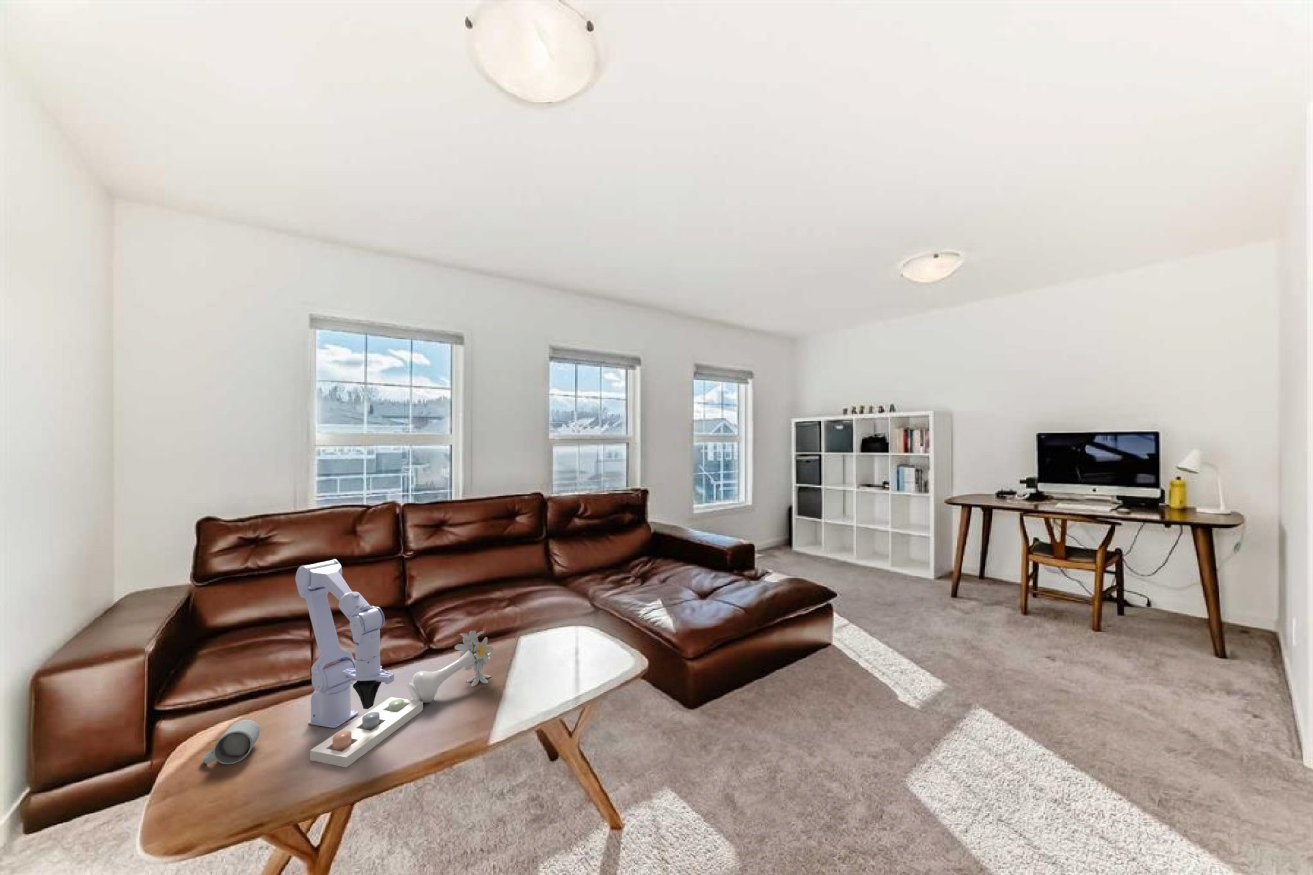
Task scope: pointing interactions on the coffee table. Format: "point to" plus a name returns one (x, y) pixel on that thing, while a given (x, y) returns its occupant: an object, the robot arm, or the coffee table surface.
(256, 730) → the ceramic mug
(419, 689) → the flower vase
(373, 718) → the slate button
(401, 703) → the sage button
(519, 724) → the coffee table surface
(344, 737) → the terracotta button
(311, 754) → the panel
